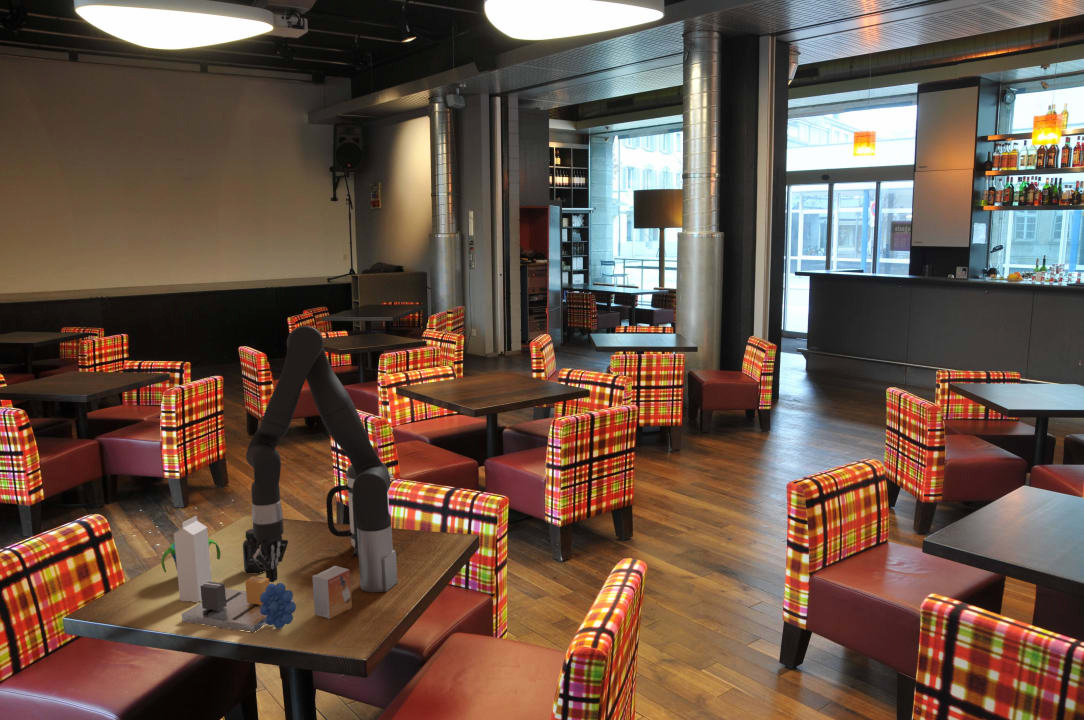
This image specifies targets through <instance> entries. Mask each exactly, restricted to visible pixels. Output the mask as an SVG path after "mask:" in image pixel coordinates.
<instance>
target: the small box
mask: <svg viewBox="0 0 1084 720" xmlns="http://www.w3.org/2000/svg"><path fill="white" fill-rule="evenodd" d="M311 577H312V589H313V591H312V593H313V594H312V595H313V605H314V606H313V607H314V608H313V609H314V615H315V616H319V617H322V618H326V619H329V620H330V619H331V620H332V619H333V618H334V617H336V616H338V615H340V614H342V613H344V612H345V611H347V610H350V609H352V607H353V605H352V587H351V584H352V583H351V570H350V569H349V568H346V567H345V568H344V567H341V566H337V565H332V567H329V568H328V569H326V570H323V571H321V572H320V573H317V574H314V575H312V576H311Z"/></svg>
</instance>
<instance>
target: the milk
mask: <svg viewBox="0 0 1084 720" xmlns="http://www.w3.org/2000/svg"><path fill="white" fill-rule="evenodd" d="M181 523H182V525H181V527H182V528H180V529H179V530H177V531H175V532H174V533H173V539H174V540H173V541H174V542H175V552H176V563H177V569H176V572H177V582H178V583H177V584H178V592H179V600H180V601H181V602H189V601H192V602H191V603H200V602H199V601H201V600H202V598H201V587H200V586H202V585H203V584H205V583H207V582H213V580H212V579H213V578H212V568H211V567H212V566H211V558H210V557H211V556H210V555H211V554H210V546H209V543H208V539H209V535H208V526H206V525H205V524H203V523H201V522H200V521H199V520H198V516H197V515H195V516H193V517H190V518H189V519H187V520H184V521H183V522H181ZM194 601H195V602H194ZM201 602H202V601H201Z"/></svg>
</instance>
